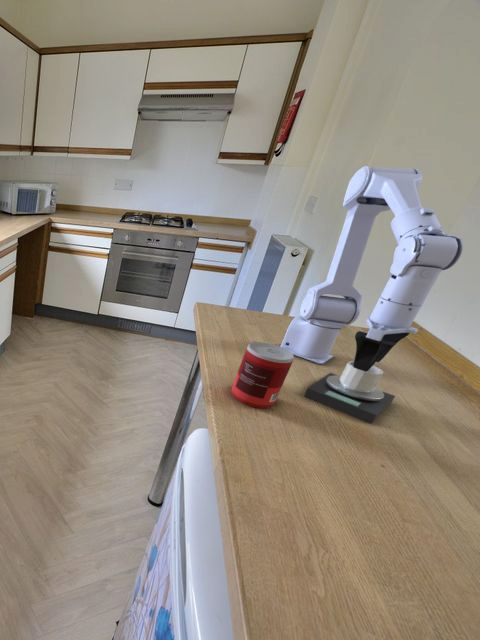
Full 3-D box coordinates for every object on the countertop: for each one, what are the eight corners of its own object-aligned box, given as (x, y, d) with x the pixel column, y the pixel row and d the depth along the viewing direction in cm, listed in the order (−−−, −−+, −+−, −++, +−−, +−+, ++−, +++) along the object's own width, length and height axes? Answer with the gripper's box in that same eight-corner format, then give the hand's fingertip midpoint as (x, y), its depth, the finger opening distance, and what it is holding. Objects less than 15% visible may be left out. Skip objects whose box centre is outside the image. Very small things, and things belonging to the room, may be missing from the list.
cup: (334, 383, 85) (344, 364, 83) (343, 377, 87) (353, 358, 85) (367, 396, 81) (378, 376, 79) (376, 388, 83) (386, 369, 82)
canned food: (266, 392, 86) (286, 345, 82) (279, 412, 79) (301, 363, 75) (226, 384, 88) (243, 338, 84) (234, 404, 82) (254, 355, 77)
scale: (303, 396, 86) (308, 385, 85) (326, 380, 92) (331, 370, 91) (371, 423, 77) (377, 412, 76) (390, 404, 84) (396, 393, 83)
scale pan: (319, 384, 85) (320, 382, 85) (334, 373, 90) (335, 371, 90) (375, 405, 79) (376, 403, 78) (388, 393, 83) (390, 390, 83)
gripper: (420, 314, 69) (381, 383, 75) (439, 301, 77) (403, 364, 83) (367, 301, 74) (334, 366, 80) (390, 290, 82) (359, 350, 88)
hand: (366, 364), depth 82 cm, fingers open, 7 cm apart
